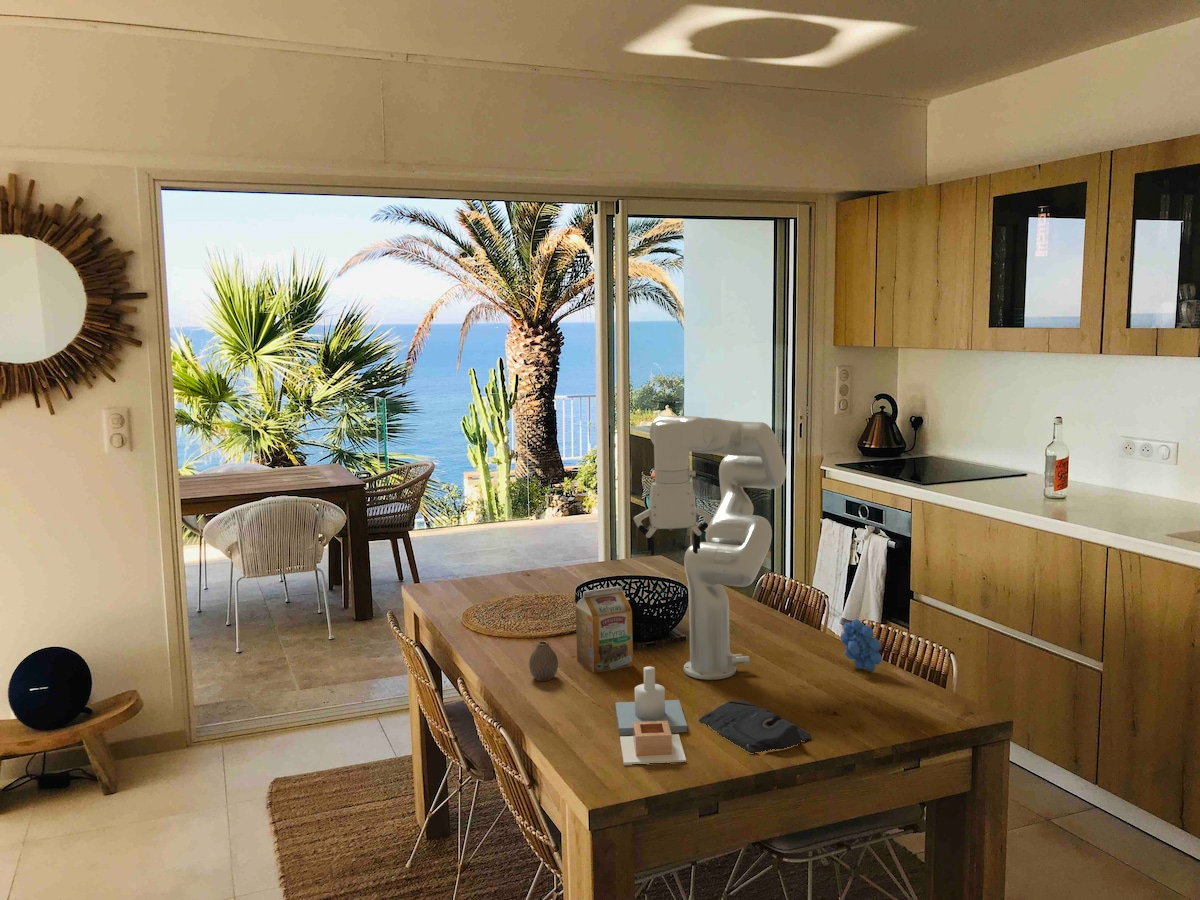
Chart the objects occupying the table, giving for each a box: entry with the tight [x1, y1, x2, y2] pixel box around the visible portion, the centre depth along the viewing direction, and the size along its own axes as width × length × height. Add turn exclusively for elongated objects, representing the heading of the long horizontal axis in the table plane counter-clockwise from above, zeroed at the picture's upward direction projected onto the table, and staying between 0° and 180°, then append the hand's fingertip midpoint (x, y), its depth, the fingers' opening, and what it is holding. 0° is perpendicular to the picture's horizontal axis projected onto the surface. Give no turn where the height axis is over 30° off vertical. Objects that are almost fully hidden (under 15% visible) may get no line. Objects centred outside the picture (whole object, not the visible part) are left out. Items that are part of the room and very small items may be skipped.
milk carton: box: [575, 585, 634, 674], centre depth 246 cm, size 11×11×19 cm
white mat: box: [619, 733, 687, 766], centre depth 196 cm, size 12×12×1 cm
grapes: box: [840, 618, 883, 672], centre depth 237 cm, size 12×7×12 cm, turn 37°
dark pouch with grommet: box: [698, 700, 812, 753], centre depth 205 cm, size 15×22×5 cm
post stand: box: [614, 666, 688, 736], centre depth 211 cm, size 14×14×12 cm
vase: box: [528, 640, 559, 682], centre depth 238 cm, size 7×7×9 cm
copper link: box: [632, 721, 672, 756], centre depth 196 cm, size 7×7×4 cm
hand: (673, 553), depth 220 cm, fingers open, 9 cm apart
